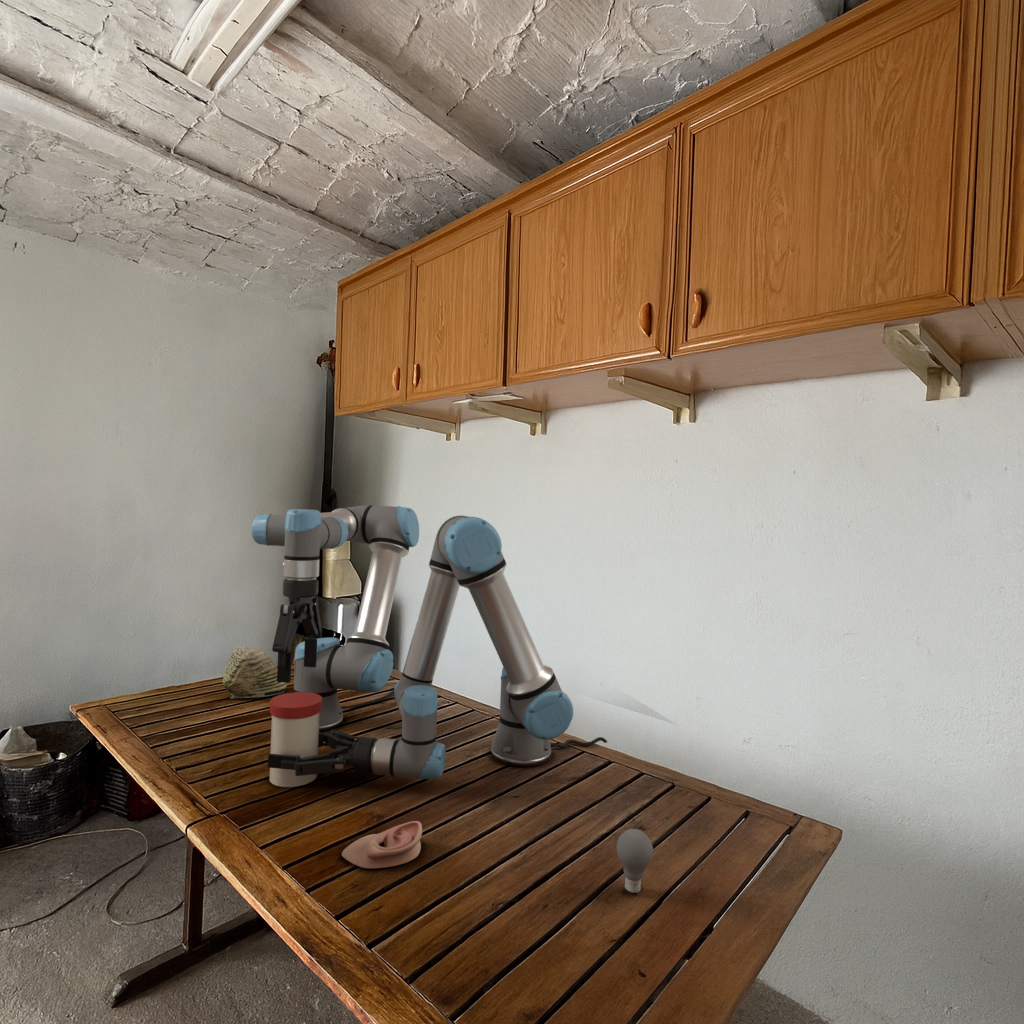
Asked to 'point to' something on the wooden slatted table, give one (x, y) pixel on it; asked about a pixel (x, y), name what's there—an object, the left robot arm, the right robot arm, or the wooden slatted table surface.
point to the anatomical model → (386, 847)
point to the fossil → (251, 674)
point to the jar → (293, 746)
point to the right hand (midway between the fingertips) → (283, 748)
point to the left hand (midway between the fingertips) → (297, 674)
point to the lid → (295, 705)
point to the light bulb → (634, 857)
